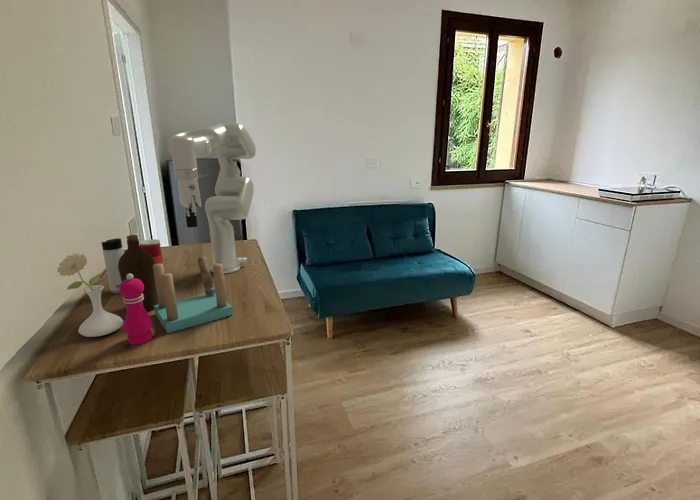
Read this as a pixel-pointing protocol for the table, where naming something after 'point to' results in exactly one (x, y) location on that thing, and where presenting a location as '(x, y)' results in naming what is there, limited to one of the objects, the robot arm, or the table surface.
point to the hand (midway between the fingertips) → (192, 226)
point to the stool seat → (189, 302)
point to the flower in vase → (99, 319)
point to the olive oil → (139, 270)
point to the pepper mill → (135, 311)
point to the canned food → (153, 249)
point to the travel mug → (113, 262)
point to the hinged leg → (206, 275)
